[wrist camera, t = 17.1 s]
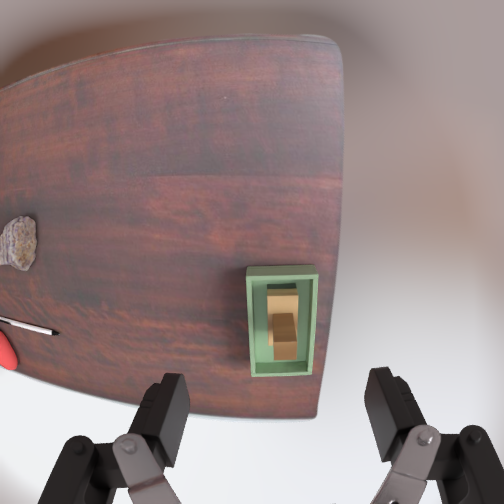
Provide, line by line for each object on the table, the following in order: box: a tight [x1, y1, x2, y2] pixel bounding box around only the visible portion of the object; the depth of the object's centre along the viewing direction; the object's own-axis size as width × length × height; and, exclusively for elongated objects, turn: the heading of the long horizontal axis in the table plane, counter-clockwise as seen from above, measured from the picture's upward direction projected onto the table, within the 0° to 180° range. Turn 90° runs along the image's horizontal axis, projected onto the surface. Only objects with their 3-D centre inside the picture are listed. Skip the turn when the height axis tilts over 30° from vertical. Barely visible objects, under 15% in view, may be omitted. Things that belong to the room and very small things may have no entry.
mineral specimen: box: [0, 216, 37, 271], centre depth 36 cm, size 13×7×6 cm, turn 126°
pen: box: [0, 317, 60, 335], centre depth 44 cm, size 1×19×1 cm, turn 87°
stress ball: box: [0, 331, 18, 370], centre depth 45 cm, size 5×9×6 cm, turn 2°
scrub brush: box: [267, 283, 298, 360], centre depth 35 cm, size 7×4×10 cm, turn 2°
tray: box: [246, 265, 318, 377], centre depth 39 cm, size 15×8×3 cm, turn 2°
